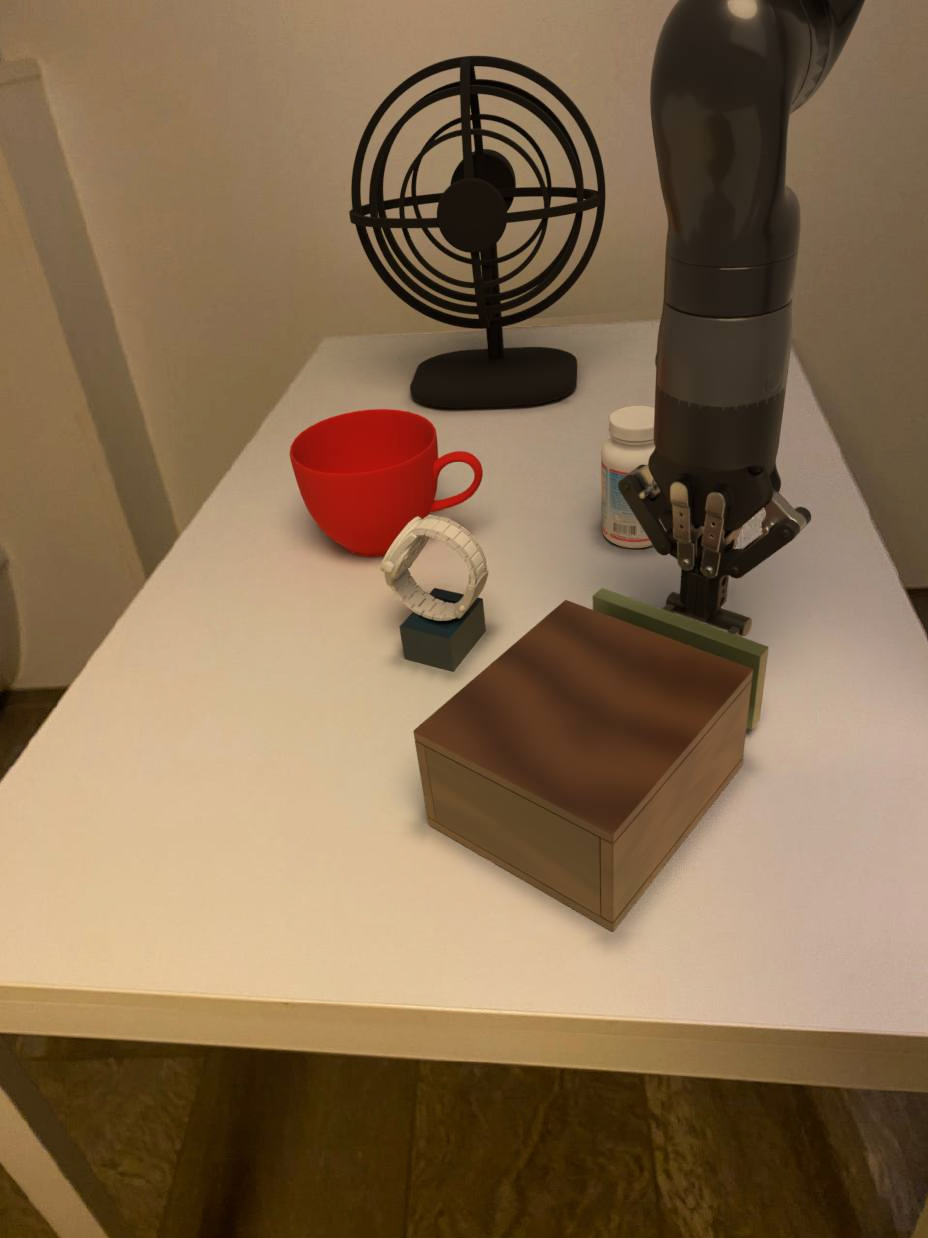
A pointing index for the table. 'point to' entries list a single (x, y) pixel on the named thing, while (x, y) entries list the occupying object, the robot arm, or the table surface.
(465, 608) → the watch
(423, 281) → the desk fan
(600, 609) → the drawer
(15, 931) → the table surface
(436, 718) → the cabinet
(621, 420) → the pill bottle
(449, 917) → the table surface
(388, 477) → the ceramic cup
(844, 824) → the table surface
